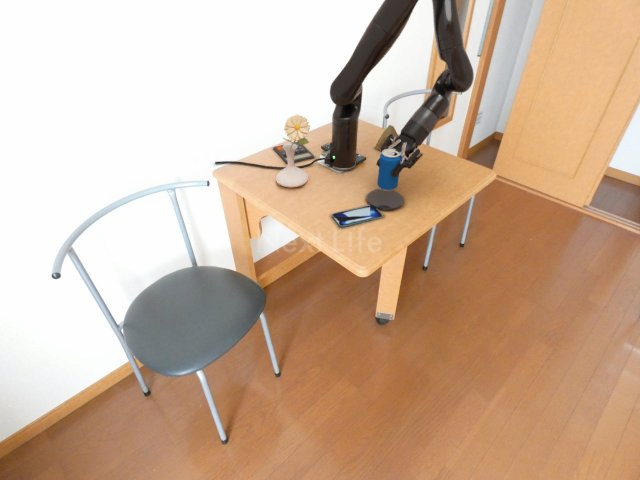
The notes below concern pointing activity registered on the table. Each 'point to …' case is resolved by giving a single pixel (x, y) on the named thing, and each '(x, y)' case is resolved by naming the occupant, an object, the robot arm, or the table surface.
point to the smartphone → (356, 216)
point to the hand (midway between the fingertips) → (385, 170)
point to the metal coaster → (385, 200)
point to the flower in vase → (297, 131)
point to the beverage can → (388, 169)
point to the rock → (386, 136)
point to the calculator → (299, 154)
